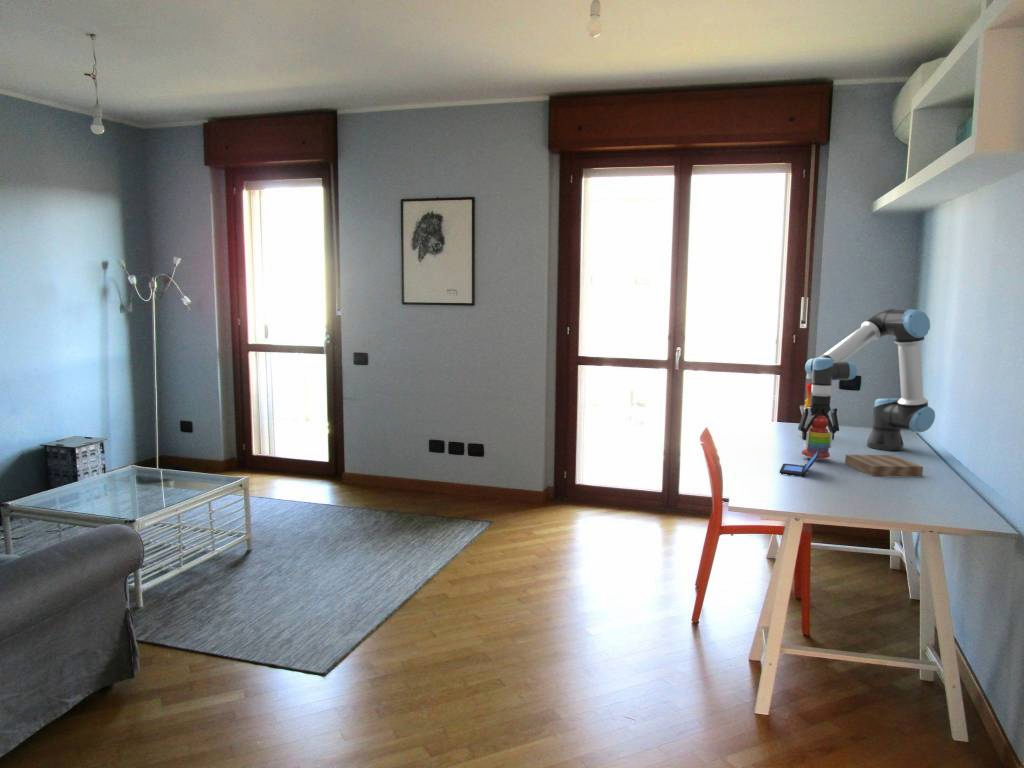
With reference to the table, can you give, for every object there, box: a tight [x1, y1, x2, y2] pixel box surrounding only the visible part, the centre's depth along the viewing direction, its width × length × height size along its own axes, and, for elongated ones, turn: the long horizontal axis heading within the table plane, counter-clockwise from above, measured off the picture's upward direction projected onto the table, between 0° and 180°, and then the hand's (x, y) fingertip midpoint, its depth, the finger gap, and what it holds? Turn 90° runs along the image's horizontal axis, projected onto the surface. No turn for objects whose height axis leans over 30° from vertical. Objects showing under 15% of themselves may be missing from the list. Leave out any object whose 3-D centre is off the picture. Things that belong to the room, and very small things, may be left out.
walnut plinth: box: [844, 454, 924, 477], centre depth 283 cm, size 20×20×4 cm
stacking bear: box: [800, 415, 830, 459], centre depth 298 cm, size 11×10×18 cm
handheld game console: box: [779, 449, 820, 478], centre depth 276 cm, size 16×13×9 cm
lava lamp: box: [797, 372, 813, 437], centre depth 349 cm, size 9×9×35 cm
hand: (817, 447), depth 298 cm, fingers closed on stacking bear, 9 cm apart
